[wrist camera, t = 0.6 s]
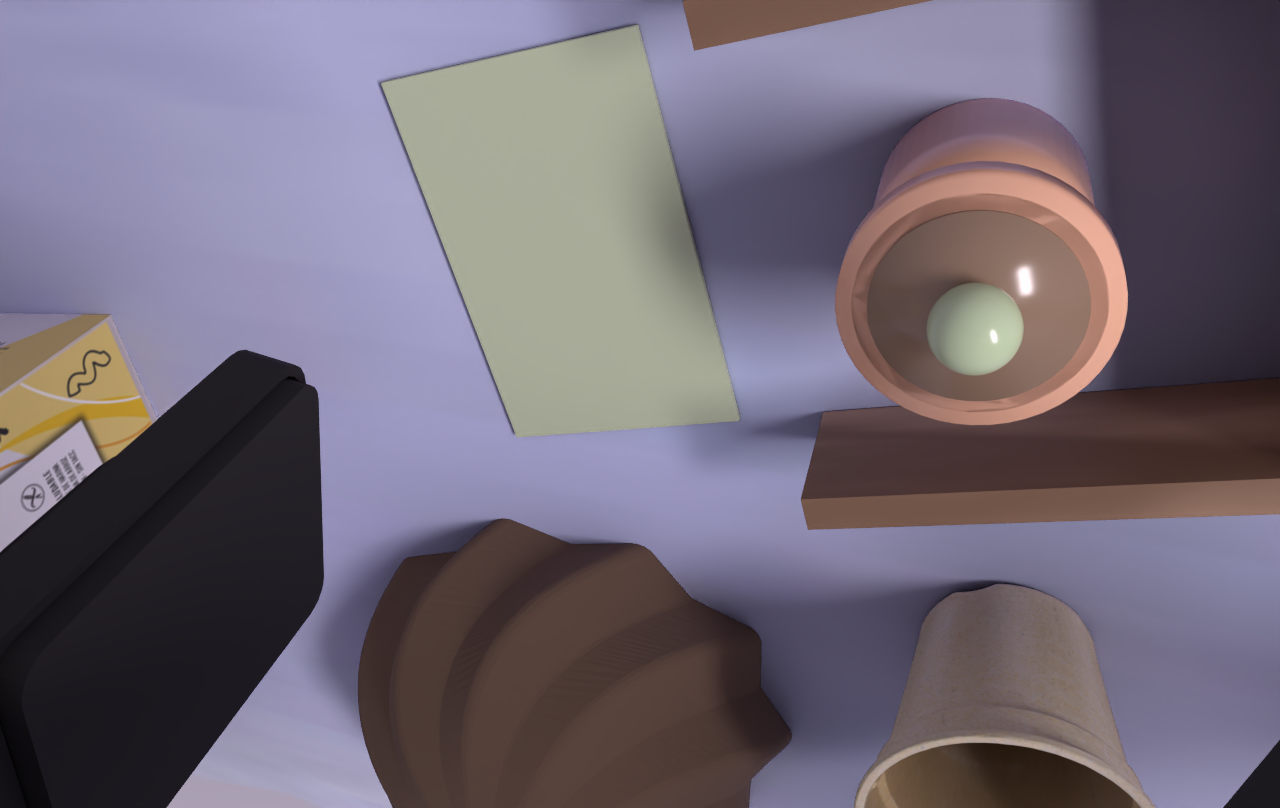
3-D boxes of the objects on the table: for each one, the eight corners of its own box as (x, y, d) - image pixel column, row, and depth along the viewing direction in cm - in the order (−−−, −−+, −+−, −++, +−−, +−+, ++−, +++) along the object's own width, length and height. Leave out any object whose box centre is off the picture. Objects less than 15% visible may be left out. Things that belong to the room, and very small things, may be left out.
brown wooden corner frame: (1329, 424, 32) (1374, 528, 28) (832, 453, 38) (811, 544, 34) (1366, -226, 24) (1437, -207, 20) (721, -64, 30) (676, -25, 26)
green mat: (740, 417, 38) (739, 421, 38) (518, 434, 42) (516, 437, 41) (637, 24, 32) (636, 25, 31) (383, 81, 35) (381, 83, 35)
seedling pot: (1111, 287, 32) (1142, 464, 25) (882, 312, 35) (849, 479, 27) (1099, 62, 29) (1129, 191, 22) (847, 107, 31) (799, 236, 24)
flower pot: (1129, 742, 42) (1153, 953, 35) (882, 714, 45) (859, 903, 38) (1153, 557, 37) (1187, 759, 30) (874, 539, 40) (846, 719, 33)
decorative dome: (466, 810, 58) (379, 991, 50) (322, 520, 48) (185, 687, 40) (822, 840, 51) (787, 1056, 43) (735, 507, 41) (669, 706, 33)
